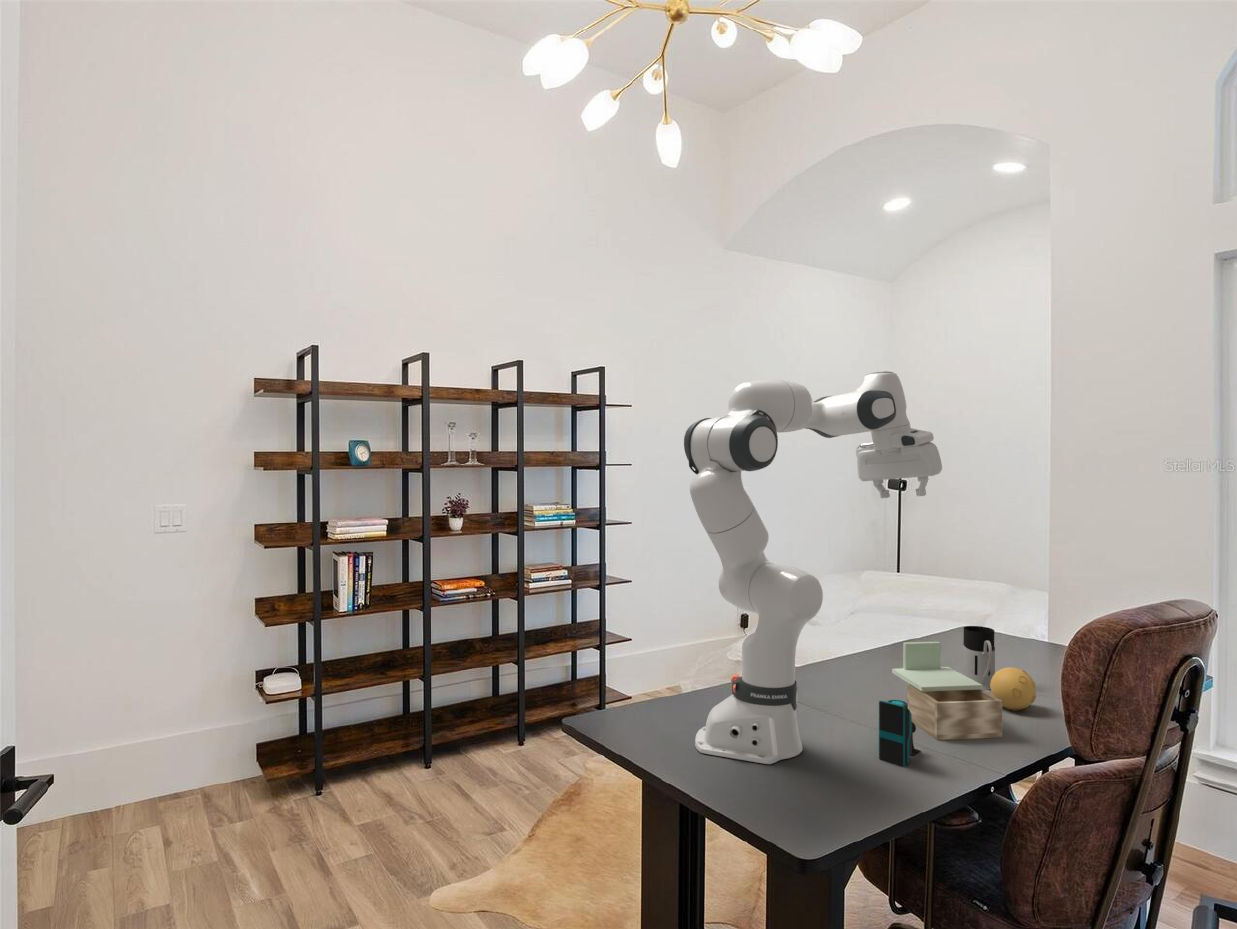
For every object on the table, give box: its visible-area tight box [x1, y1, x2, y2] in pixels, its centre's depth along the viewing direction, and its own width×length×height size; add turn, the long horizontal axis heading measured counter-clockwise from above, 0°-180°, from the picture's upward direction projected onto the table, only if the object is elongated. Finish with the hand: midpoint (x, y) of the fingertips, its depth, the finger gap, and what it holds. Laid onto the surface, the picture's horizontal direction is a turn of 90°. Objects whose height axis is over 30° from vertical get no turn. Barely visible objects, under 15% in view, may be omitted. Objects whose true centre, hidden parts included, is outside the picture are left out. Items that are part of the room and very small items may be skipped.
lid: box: [891, 641, 983, 691], centre depth 174 cm, size 15×14×7 cm
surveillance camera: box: [878, 699, 921, 768], centre depth 151 cm, size 6×12×10 cm
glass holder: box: [962, 625, 996, 691], centre depth 195 cm, size 9×14×15 cm, turn 170°
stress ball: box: [990, 666, 1037, 712], centre depth 179 cm, size 10×10×10 cm
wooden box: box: [907, 683, 1003, 741], centre depth 167 cm, size 15×13×8 cm
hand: (903, 496), depth 174 cm, fingers open, 8 cm apart
